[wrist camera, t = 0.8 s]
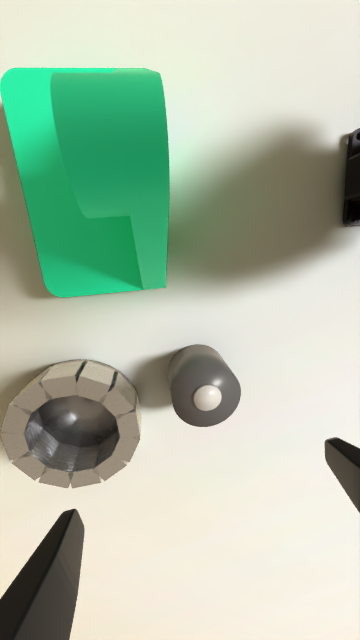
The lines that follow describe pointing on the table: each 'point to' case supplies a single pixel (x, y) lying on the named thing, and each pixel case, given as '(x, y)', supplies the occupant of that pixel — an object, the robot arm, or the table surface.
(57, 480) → the grey piece
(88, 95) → the camera mount
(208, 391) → the cap
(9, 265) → the table surface
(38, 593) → the robot arm
